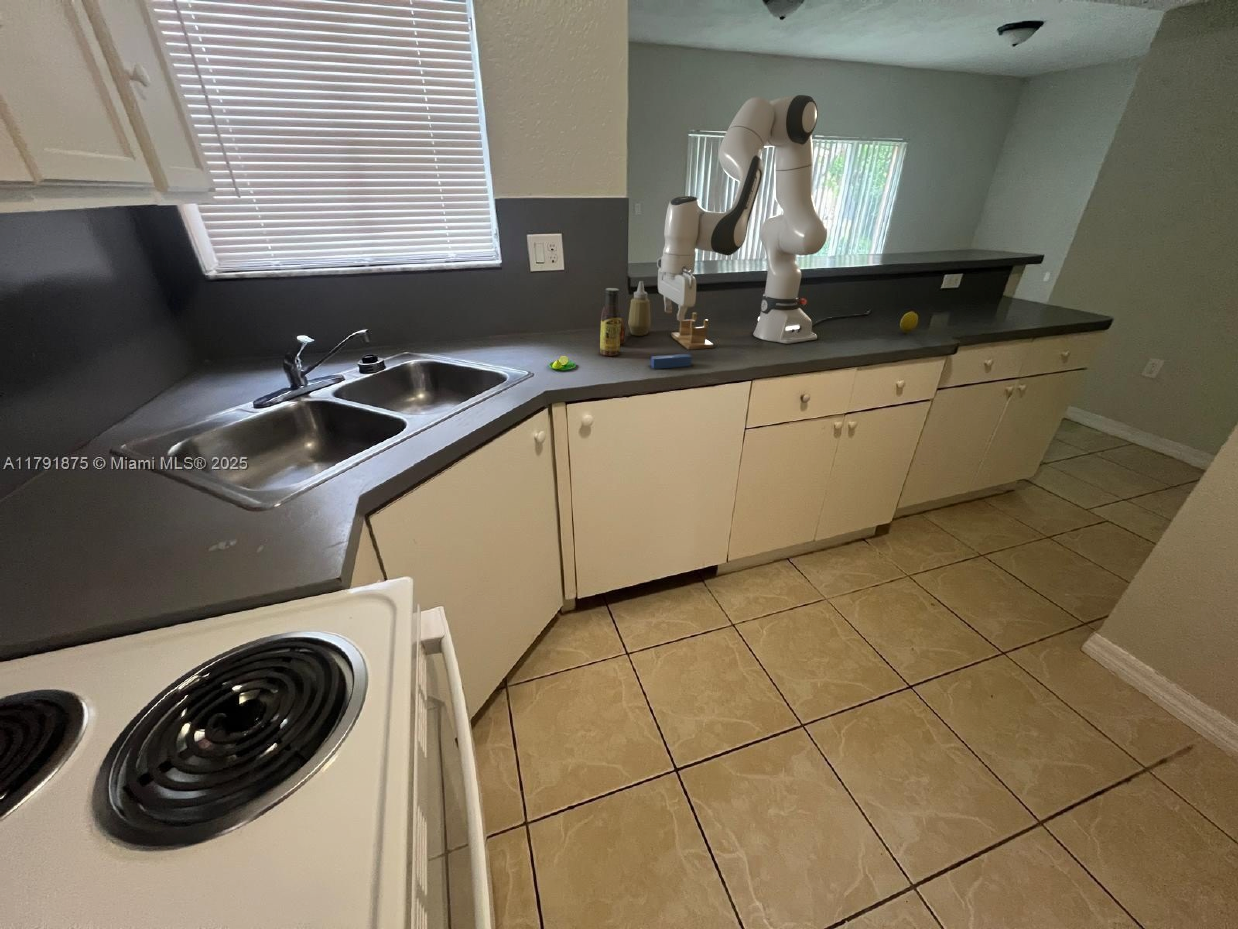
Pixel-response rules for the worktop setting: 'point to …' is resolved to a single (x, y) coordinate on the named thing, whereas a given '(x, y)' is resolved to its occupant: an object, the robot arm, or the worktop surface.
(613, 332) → the sauce bottle
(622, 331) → the tin
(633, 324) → the squeeze bottle
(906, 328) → the lemon
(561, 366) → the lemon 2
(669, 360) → the handle
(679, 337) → the holder
